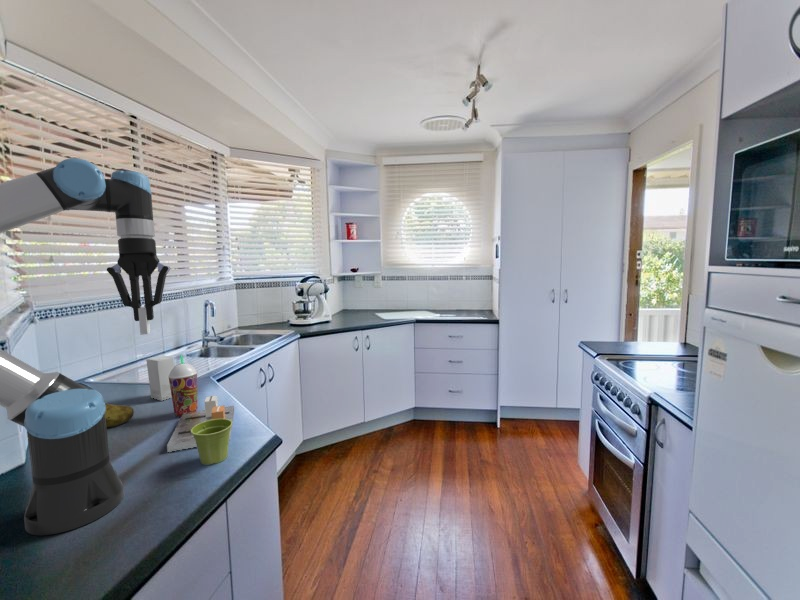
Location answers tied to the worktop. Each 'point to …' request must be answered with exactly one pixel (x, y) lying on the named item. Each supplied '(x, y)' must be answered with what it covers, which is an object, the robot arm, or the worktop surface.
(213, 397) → the fader far
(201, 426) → the plant pot
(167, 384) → the skincare box
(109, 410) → the potato
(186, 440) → the console
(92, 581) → the worktop surface
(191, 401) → the smoothie
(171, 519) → the worktop surface
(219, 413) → the fader near
